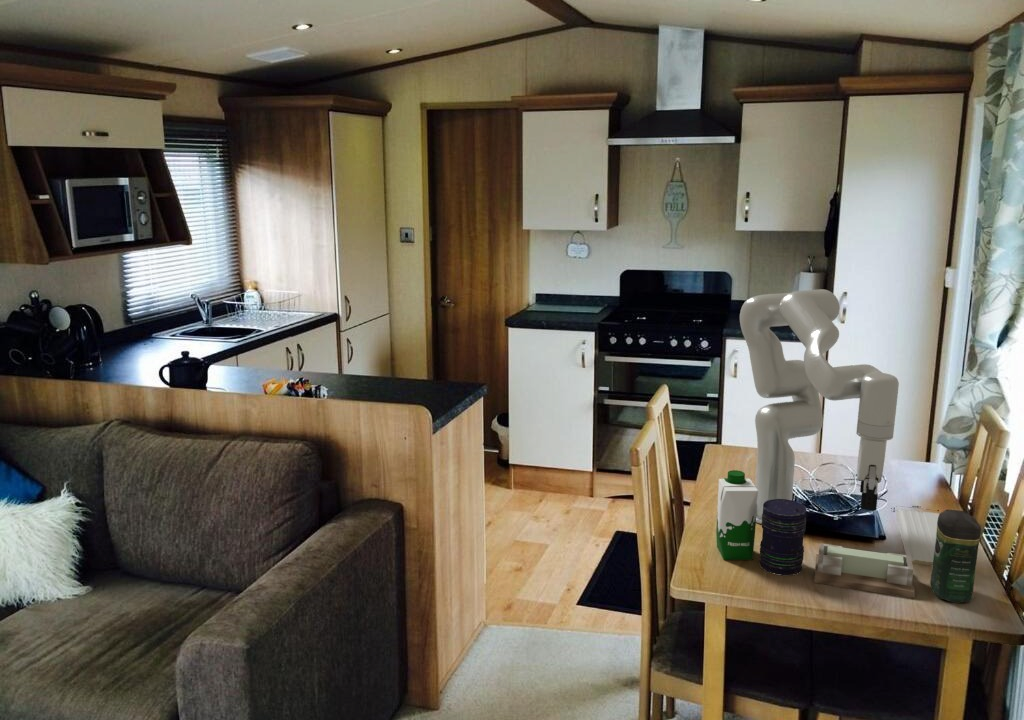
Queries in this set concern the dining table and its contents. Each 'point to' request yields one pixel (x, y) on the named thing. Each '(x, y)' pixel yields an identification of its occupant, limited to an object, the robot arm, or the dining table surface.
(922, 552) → the baseboard molding
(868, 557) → the pale green long block
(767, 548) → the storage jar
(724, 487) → the milk carton
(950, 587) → the coffee jar
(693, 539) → the dining table surface
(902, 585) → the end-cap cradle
